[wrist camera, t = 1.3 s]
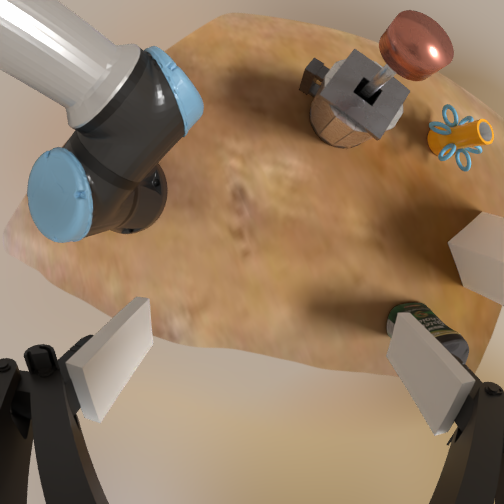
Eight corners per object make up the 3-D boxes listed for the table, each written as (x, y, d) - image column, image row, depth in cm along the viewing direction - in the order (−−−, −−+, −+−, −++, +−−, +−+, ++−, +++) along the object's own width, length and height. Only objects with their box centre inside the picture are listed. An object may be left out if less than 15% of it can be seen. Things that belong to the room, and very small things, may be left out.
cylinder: (408, 115, 43) (450, 95, 29) (447, 109, 42) (491, 92, 28) (427, 177, 46) (474, 176, 31) (464, 167, 44) (512, 165, 30)
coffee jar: (427, 298, 50) (478, 338, 32) (421, 332, 52) (465, 380, 34) (387, 302, 51) (431, 349, 33) (382, 338, 53) (418, 392, 34)
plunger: (329, 105, 36) (384, 32, 15) (348, 79, 35) (408, 0, 14) (361, 129, 37) (441, 79, 15) (379, 102, 35) (460, 43, 14)
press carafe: (283, 113, 45) (288, 83, 31) (317, 69, 43) (333, 29, 28) (350, 161, 46) (382, 150, 31) (381, 114, 44) (418, 91, 29)
